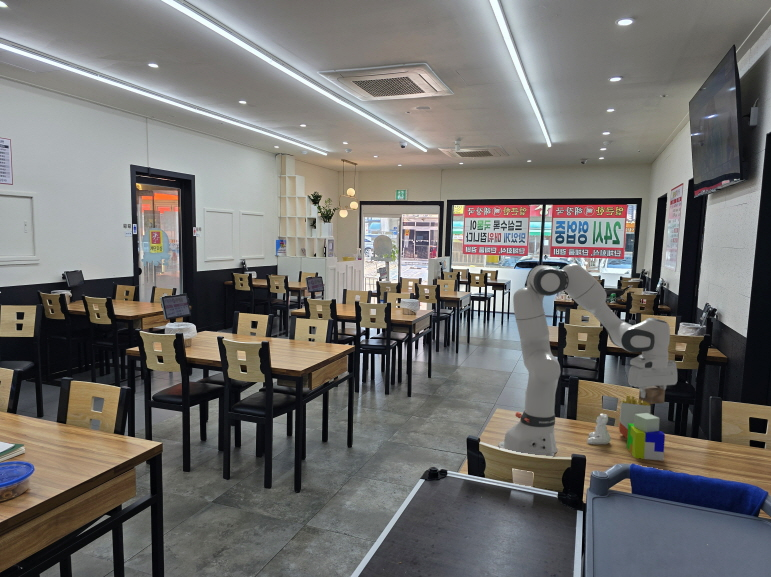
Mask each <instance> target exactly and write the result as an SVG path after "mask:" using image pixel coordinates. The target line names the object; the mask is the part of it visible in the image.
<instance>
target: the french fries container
mask: <svg viewBox="0 0 771 577" xmlns="http://www.w3.org/2000/svg"><path fill="white" fill-rule="evenodd" d="M651 406H652V405H651V404H650V403H647V402H645V401H642V400H640V399H639V398H638V400H637V399H635V396H634V395H632V396H631V395H630V394H626V399H625V398H622V401H621V402H620V413H619V422H618V423H619V425H618V430H619V431H618V432H619V433H620V434H622V436H623V437H624V438H626V439H628V423H631V424H634V416H635V414H641V413H649V414H651Z"/></svg>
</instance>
